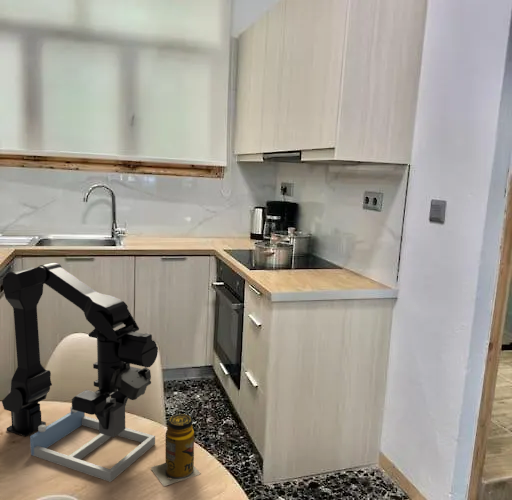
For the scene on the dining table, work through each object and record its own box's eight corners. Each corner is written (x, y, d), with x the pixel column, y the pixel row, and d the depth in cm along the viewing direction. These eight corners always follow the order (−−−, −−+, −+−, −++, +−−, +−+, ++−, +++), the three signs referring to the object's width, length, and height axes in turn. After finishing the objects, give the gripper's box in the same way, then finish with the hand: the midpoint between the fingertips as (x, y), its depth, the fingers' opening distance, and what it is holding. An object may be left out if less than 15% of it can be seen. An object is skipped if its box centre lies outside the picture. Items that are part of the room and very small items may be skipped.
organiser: (29, 454, 113) (28, 431, 112) (80, 422, 127) (80, 401, 127) (110, 481, 104) (110, 457, 103) (155, 443, 119) (155, 422, 118)
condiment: (200, 474, 108) (201, 422, 106) (163, 487, 103) (164, 433, 101) (186, 457, 114) (186, 407, 112) (150, 468, 109) (150, 417, 107)
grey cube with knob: (99, 433, 112) (98, 401, 111) (111, 424, 116) (110, 394, 114) (113, 437, 110) (113, 405, 109) (125, 428, 114) (125, 397, 113)
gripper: (113, 381, 98) (114, 455, 101) (166, 350, 115) (166, 414, 118) (68, 370, 103) (71, 441, 105) (126, 342, 120) (127, 403, 122)
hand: (112, 424), depth 113 cm, fingers closed on grey cube with knob, 4 cm apart
